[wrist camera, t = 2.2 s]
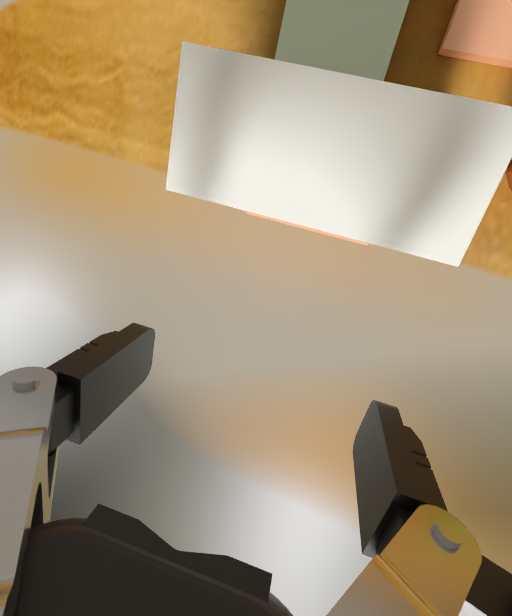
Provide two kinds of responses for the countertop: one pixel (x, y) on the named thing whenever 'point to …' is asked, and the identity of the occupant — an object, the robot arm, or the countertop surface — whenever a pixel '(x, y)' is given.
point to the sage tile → (341, 35)
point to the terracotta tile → (480, 32)
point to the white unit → (337, 151)
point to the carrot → (509, 177)
